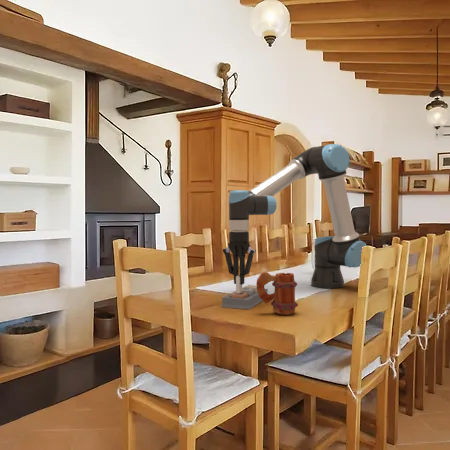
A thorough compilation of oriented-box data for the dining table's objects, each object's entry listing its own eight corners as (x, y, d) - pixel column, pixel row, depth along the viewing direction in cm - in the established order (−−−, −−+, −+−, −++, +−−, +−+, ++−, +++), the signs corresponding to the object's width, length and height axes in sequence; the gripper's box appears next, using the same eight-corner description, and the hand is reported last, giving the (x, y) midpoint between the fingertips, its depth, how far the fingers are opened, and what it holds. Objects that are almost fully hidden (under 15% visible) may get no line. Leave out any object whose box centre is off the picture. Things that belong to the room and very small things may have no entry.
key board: (267, 297, 189) (267, 288, 188) (248, 309, 168) (248, 299, 168) (243, 295, 193) (243, 287, 193) (221, 307, 173) (221, 297, 173)
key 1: (259, 291, 188) (259, 285, 188) (255, 293, 183) (255, 287, 183) (248, 290, 190) (248, 284, 190) (243, 292, 185) (243, 286, 185)
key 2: (253, 294, 182) (253, 288, 182) (249, 297, 177) (249, 290, 177) (242, 293, 184) (242, 287, 184) (237, 296, 179) (237, 289, 179)
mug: (295, 310, 166) (295, 269, 166) (300, 316, 158) (300, 273, 157) (255, 311, 166) (255, 270, 165) (257, 316, 158) (257, 273, 157)
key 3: (247, 299, 176) (247, 292, 176) (243, 301, 172) (243, 294, 171) (236, 298, 178) (236, 291, 178) (231, 300, 173) (231, 294, 173)
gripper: (258, 230, 174) (258, 292, 175) (227, 230, 179) (227, 289, 181) (251, 232, 167) (251, 295, 168) (219, 231, 172) (219, 293, 174)
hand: (239, 292), depth 174 cm, fingers closed
